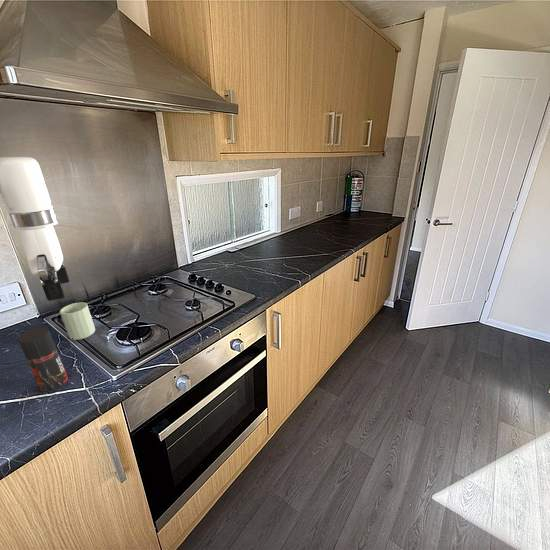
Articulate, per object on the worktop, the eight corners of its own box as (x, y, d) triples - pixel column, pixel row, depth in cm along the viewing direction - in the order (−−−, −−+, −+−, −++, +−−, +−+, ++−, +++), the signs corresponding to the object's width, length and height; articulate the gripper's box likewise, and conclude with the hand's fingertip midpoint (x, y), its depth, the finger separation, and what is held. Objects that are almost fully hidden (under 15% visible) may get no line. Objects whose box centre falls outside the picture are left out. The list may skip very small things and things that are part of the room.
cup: (63, 338, 94) (53, 313, 90) (81, 326, 100) (72, 301, 97) (83, 340, 92) (74, 314, 89) (100, 327, 99) (92, 303, 95)
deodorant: (68, 384, 75) (48, 335, 69) (39, 395, 72) (16, 345, 66) (67, 371, 80) (48, 324, 74) (40, 380, 77) (18, 333, 71)
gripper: (22, 214, 68) (46, 281, 75) (-1, 230, 54) (32, 310, 61) (60, 210, 71) (80, 275, 78) (49, 224, 57) (74, 302, 64)
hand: (59, 290), depth 69 cm, fingers open, 9 cm apart
